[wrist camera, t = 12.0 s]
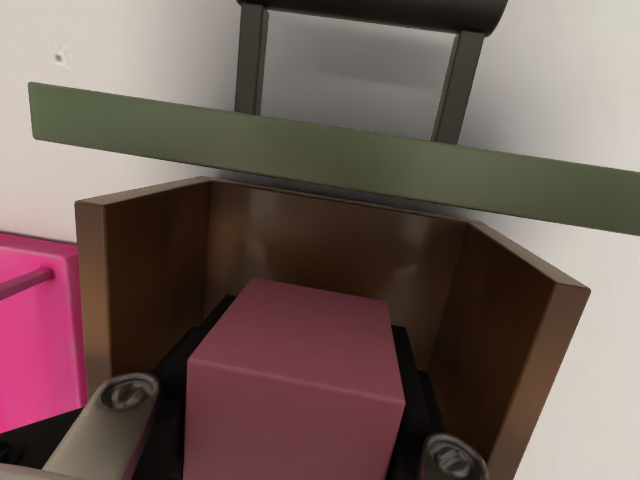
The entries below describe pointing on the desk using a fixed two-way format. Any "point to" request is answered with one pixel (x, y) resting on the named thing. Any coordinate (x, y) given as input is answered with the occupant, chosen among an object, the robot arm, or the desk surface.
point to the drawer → (340, 226)
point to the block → (293, 388)
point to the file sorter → (39, 331)
